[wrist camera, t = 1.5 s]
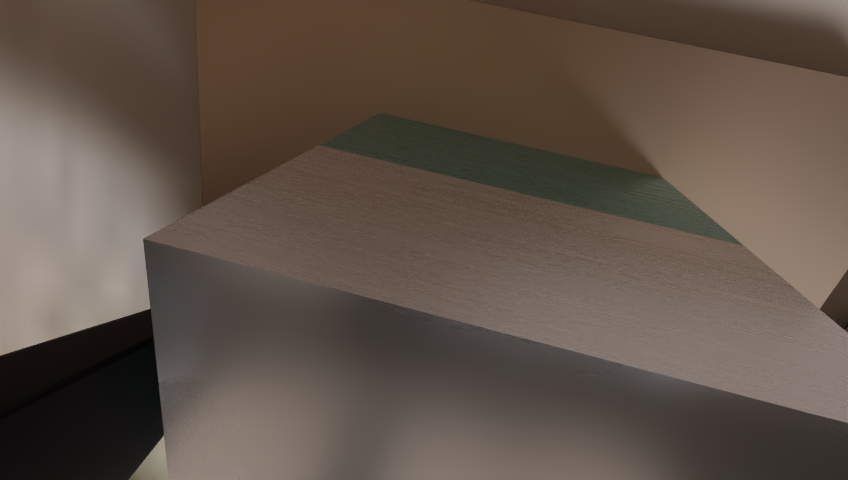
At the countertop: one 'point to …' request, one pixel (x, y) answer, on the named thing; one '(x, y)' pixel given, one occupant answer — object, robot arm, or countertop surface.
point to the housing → (481, 325)
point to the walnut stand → (537, 107)
